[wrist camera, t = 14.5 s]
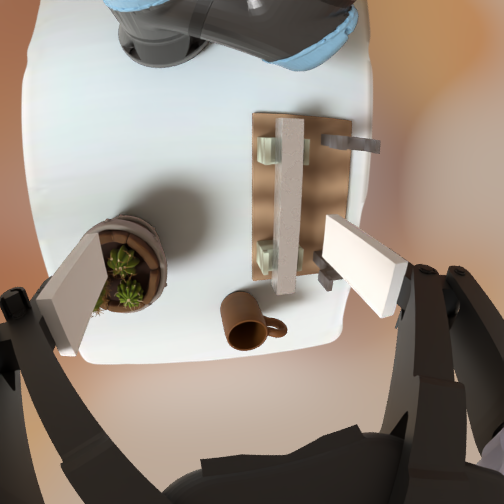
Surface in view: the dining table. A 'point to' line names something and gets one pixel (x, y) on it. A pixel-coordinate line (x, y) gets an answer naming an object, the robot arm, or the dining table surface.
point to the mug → (247, 322)
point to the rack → (303, 189)
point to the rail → (287, 202)
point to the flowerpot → (130, 264)
